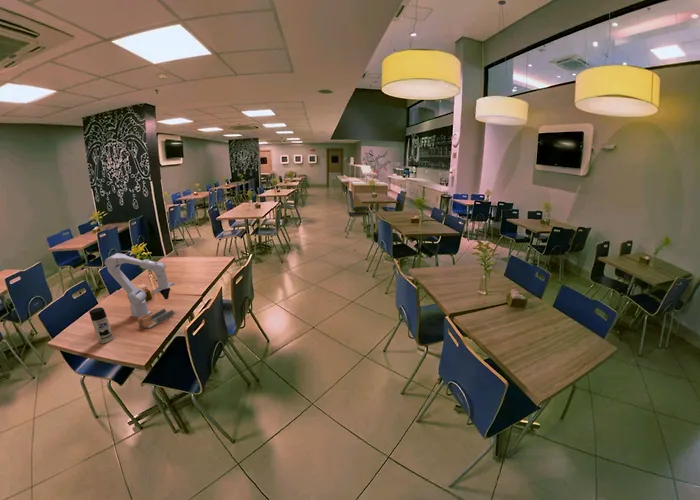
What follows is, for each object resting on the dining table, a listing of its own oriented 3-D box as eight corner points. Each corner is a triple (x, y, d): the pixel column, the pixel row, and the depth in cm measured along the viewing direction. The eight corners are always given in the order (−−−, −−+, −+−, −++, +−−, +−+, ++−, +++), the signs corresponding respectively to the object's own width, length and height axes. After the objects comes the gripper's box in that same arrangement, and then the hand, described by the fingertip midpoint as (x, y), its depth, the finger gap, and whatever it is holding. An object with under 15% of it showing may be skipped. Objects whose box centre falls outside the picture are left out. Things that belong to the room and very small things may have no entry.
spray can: (101, 345, 163) (91, 314, 157) (97, 341, 167) (86, 310, 161) (115, 339, 169) (106, 308, 163) (110, 335, 172) (101, 305, 166)
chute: (138, 326, 181) (137, 322, 180) (164, 312, 197) (163, 308, 196) (149, 328, 178) (148, 324, 177) (174, 314, 195) (173, 310, 194)
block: (139, 326, 179) (137, 318, 178) (147, 322, 184) (145, 314, 182) (145, 327, 178) (143, 319, 176) (152, 323, 182) (150, 315, 181)
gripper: (156, 285, 183) (161, 304, 188) (176, 276, 197) (180, 294, 201) (148, 284, 186) (153, 303, 190) (168, 275, 199) (172, 293, 203)
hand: (166, 298), depth 195 cm, fingers closed
